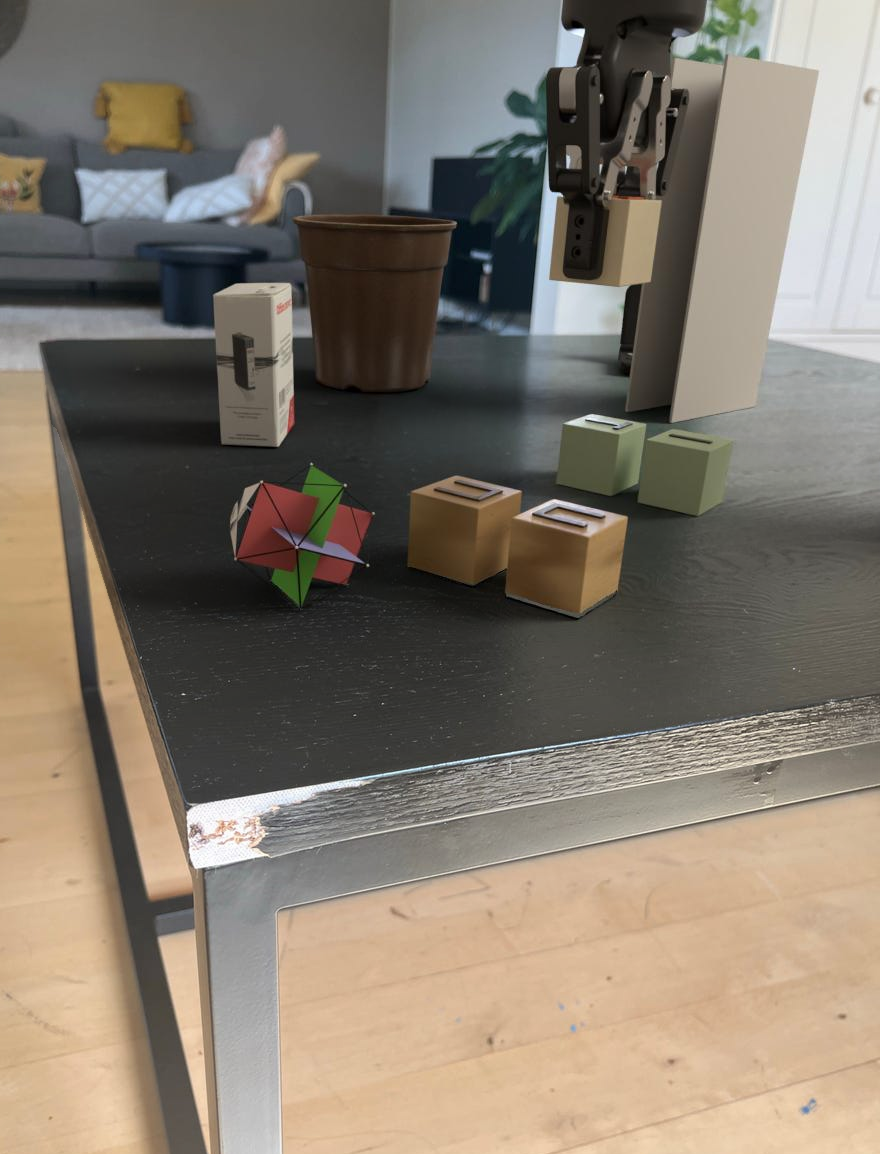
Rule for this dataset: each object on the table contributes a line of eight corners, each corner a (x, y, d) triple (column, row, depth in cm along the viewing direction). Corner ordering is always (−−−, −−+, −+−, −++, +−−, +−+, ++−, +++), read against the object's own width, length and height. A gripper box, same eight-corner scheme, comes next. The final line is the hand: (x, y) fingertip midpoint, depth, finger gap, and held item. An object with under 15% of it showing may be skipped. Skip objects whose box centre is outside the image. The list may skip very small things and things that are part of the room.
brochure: (709, 396, 105) (764, 73, 92) (755, 406, 101) (819, 70, 88) (625, 411, 97) (672, 58, 84) (671, 422, 93) (728, 54, 80)
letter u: (503, 597, 53) (511, 514, 51) (545, 574, 56) (553, 496, 54) (578, 620, 50) (589, 534, 49) (617, 595, 54) (629, 514, 52)
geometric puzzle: (367, 522, 57) (287, 417, 52) (426, 561, 51) (343, 448, 46) (275, 607, 56) (185, 509, 51) (325, 656, 50) (230, 552, 46)
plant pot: (349, 404, 95) (352, 222, 88) (266, 375, 106) (263, 212, 99) (478, 389, 104) (490, 223, 97) (389, 364, 115) (394, 214, 108)
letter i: (637, 502, 69) (646, 437, 67) (663, 489, 73) (673, 426, 71) (698, 516, 67) (709, 449, 65) (722, 502, 70) (734, 438, 68)
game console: (618, 375, 114) (629, 293, 110) (616, 357, 126) (626, 282, 122) (757, 385, 112) (773, 301, 108) (741, 365, 124) (755, 289, 120)
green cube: (555, 484, 73) (562, 421, 71) (584, 471, 76) (591, 412, 74) (611, 496, 70) (619, 432, 68) (638, 483, 74) (647, 422, 72)
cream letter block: (548, 280, 58) (556, 193, 56) (582, 275, 61) (591, 194, 59) (619, 287, 56) (630, 197, 54) (650, 282, 59) (662, 197, 57)
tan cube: (406, 567, 56) (410, 489, 54) (451, 547, 60) (456, 472, 58) (472, 587, 54) (478, 506, 52) (515, 565, 57) (522, 488, 55)
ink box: (239, 421, 87) (235, 279, 82) (295, 424, 87) (294, 282, 82) (217, 445, 79) (211, 290, 74) (279, 448, 79) (276, 293, 74)
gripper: (657, -116, 44) (607, 291, 51) (758, -53, 54) (705, 276, 62) (510, -98, 48) (483, 277, 55) (631, -43, 58) (595, 266, 66)
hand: (601, 275), depth 58 cm, fingers closed on cream letter block, 4 cm apart
